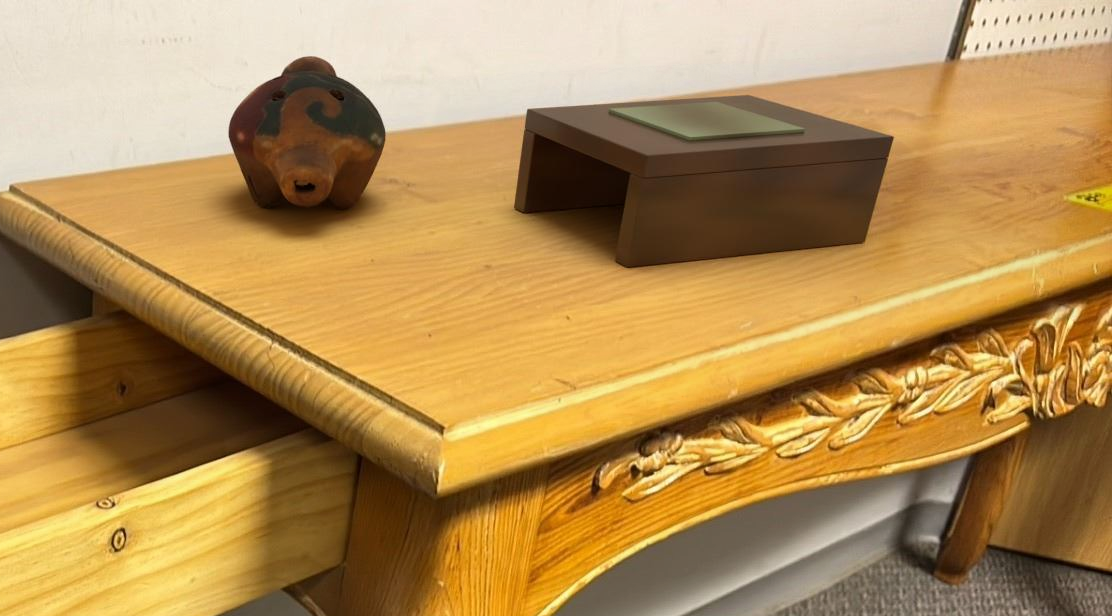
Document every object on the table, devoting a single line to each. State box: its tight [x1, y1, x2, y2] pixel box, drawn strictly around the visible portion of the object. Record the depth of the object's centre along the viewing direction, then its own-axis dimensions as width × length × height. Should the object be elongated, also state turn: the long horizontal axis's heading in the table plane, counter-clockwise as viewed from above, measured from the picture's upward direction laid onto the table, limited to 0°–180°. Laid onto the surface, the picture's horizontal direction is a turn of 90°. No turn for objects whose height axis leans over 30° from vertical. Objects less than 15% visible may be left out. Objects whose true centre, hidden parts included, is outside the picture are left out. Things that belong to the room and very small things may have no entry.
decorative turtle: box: [227, 55, 387, 210], centre depth 75 cm, size 10×15×8 cm, turn 1°
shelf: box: [513, 94, 895, 268], centre depth 71 cm, size 16×12×6 cm
